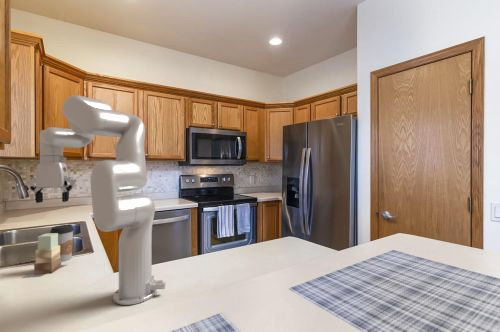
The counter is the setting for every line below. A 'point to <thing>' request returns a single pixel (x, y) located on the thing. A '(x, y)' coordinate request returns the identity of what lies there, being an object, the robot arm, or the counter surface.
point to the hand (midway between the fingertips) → (52, 202)
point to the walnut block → (47, 267)
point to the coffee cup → (64, 240)
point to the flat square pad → (36, 274)
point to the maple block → (48, 255)
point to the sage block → (47, 241)
